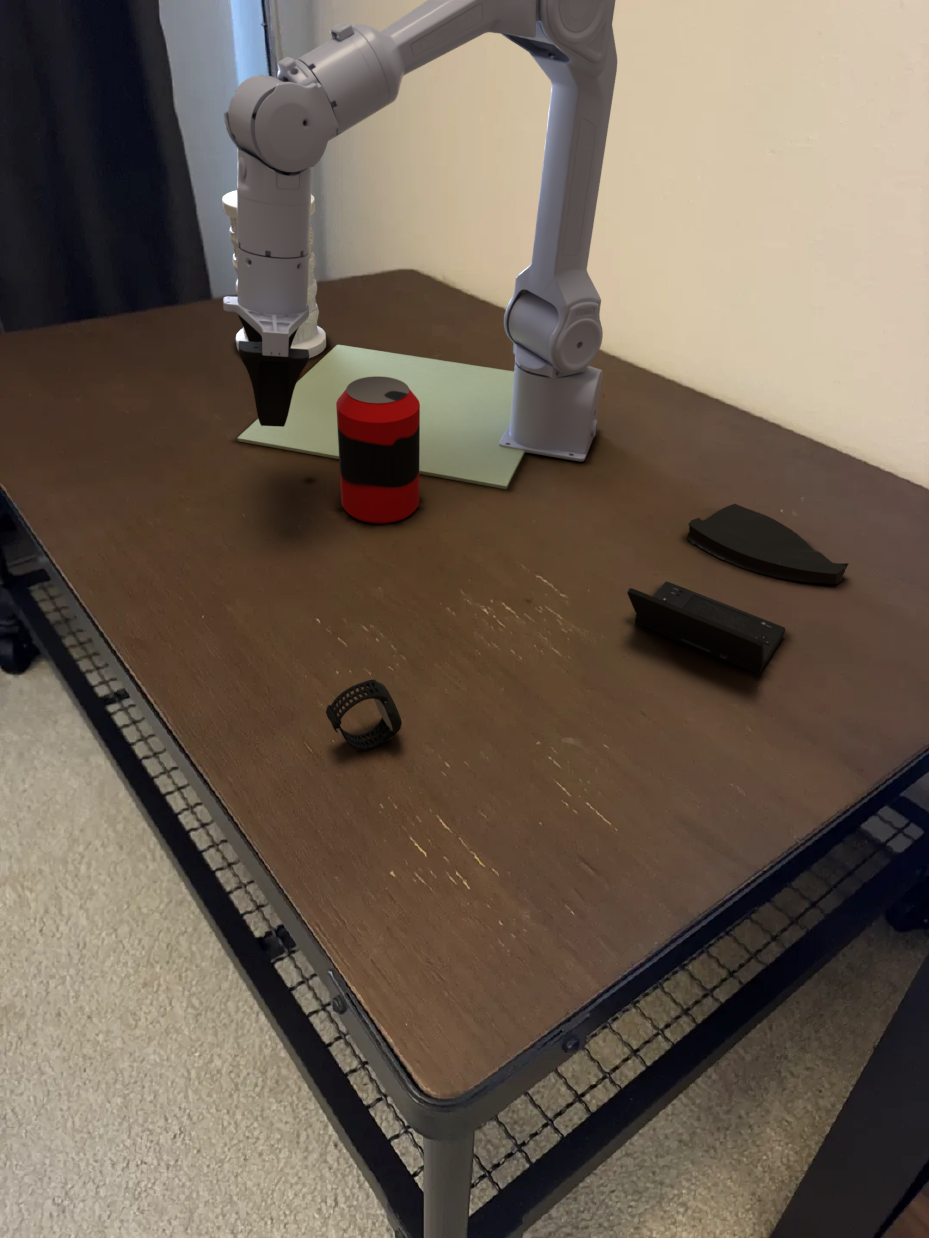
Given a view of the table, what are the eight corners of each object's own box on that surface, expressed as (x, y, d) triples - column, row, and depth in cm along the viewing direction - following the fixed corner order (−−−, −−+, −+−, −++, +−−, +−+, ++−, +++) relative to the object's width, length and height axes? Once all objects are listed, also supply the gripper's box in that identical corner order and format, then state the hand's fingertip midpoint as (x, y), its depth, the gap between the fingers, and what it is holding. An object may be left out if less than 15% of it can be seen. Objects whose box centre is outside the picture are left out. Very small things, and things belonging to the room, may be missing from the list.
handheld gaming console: (791, 605, 75) (789, 562, 66) (773, 687, 74) (768, 654, 65) (655, 582, 80) (636, 539, 71) (635, 659, 78) (614, 625, 70)
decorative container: (320, 364, 114) (310, 214, 103) (228, 361, 114) (208, 209, 103) (331, 330, 123) (323, 188, 112) (246, 326, 123) (230, 184, 112)
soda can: (389, 534, 85) (387, 415, 77) (325, 509, 88) (317, 393, 80) (433, 499, 90) (436, 386, 82) (372, 477, 93) (369, 365, 85)
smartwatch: (402, 759, 63) (402, 707, 60) (327, 761, 62) (323, 709, 59) (400, 717, 66) (400, 665, 63) (329, 719, 65) (325, 667, 62)
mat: (561, 381, 113) (561, 378, 113) (506, 489, 92) (506, 486, 92) (337, 347, 119) (337, 344, 119) (237, 441, 98) (237, 437, 98)
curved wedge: (806, 607, 78) (811, 592, 77) (681, 538, 86) (684, 524, 85) (856, 571, 83) (861, 557, 82) (733, 509, 90) (736, 495, 89)
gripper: (223, 222, 78) (225, 374, 86) (221, 269, 67) (224, 439, 75) (305, 230, 80) (300, 378, 88) (318, 278, 69) (310, 443, 76)
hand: (270, 406), depth 81 cm, fingers open, 7 cm apart
